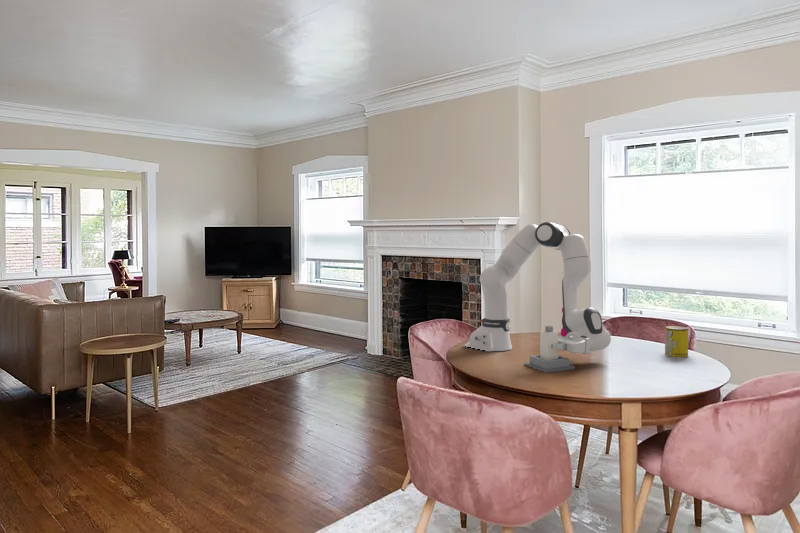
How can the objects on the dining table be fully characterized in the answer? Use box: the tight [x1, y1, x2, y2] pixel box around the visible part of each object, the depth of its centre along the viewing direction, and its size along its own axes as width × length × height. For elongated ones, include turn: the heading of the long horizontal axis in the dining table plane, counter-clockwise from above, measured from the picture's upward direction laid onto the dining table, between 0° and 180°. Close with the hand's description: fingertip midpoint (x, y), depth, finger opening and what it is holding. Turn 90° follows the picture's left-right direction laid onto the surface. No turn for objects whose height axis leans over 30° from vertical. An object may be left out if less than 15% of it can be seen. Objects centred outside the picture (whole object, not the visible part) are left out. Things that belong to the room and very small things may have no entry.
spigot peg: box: [539, 325, 559, 360], centre depth 225 cm, size 5×5×14 cm
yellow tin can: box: [664, 325, 689, 358], centre depth 244 cm, size 9×9×12 cm
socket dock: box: [523, 354, 575, 374], centre depth 225 cm, size 14×14×4 cm
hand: (547, 345), depth 225 cm, fingers closed on spigot peg, 5 cm apart
